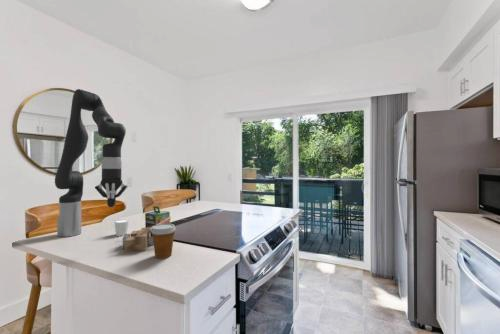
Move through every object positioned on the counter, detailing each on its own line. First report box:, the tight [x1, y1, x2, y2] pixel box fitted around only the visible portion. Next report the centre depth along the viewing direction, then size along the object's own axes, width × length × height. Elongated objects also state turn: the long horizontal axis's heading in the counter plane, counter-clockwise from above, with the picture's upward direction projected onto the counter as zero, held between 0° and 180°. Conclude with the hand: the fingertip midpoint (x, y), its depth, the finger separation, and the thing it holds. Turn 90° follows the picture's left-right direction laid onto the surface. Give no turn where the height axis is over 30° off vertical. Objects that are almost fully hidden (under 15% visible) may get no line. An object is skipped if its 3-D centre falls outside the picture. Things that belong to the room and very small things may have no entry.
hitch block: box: [124, 227, 152, 253], centre depth 108 cm, size 8×15×6 cm, turn 15°
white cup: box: [114, 219, 130, 237], centre depth 125 cm, size 7×7×7 cm
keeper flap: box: [148, 215, 172, 233], centre depth 110 cm, size 11×5×1 cm, turn 104°
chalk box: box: [144, 205, 171, 237], centre depth 127 cm, size 9×9×15 cm
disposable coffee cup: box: [151, 223, 176, 260], centre depth 96 cm, size 10×10×12 cm
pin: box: [122, 233, 154, 250], centre depth 108 cm, size 13×6×5 cm, turn 108°
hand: (111, 206), depth 105 cm, fingers closed
